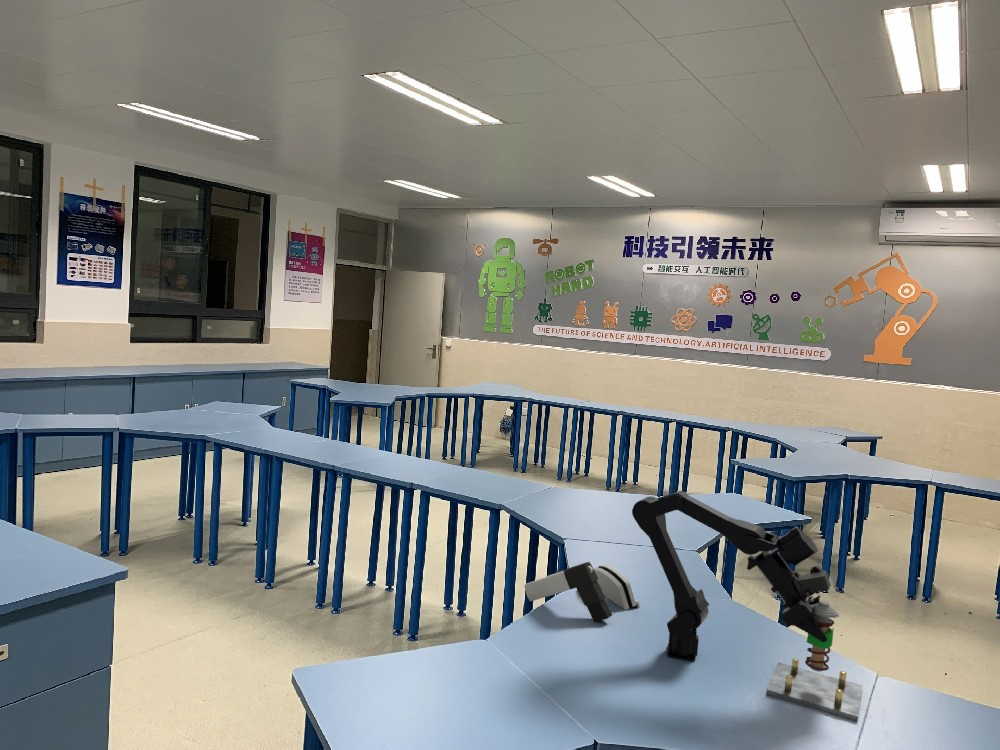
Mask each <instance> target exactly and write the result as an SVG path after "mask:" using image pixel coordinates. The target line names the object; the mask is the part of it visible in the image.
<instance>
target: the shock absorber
mask: <svg viewBox="0 0 1000 750" xmlns="http://www.w3.org/2000/svg"><path fill="white" fill-rule="evenodd" d="M811 607H812V609H813V608H816V610H815V614H816V615H815V618H816V620H817V622H818V623H819V625H820V627H821V628H822V630H823V632H824V634H825V636H826V637H827V641H826V642H822V641H820V640H818V639H817V638H815V637H813V636H812V635H810V634H808V633H807V638H806V643H807V644H809V645H811V646H812V647H808V648H807V652H809V653H811V656H806V657H805V658H806V660H804V663H805V665H806V666H807V667H808V668H810V669H811V670H813V672H814V671H815V672H817V673H818V672H823V671H828V670H829V669H830V667H829V664H827V663H829V661H830V657H829V655H828V654H829V653H830V652H831V647H832V646H833V638H834V630H835V629H834V627H833V628H831V627H832V626H834V625H835V621H834V620H833V619H834V618H838V617H840V613H839V612H838V611H837V610H836V609H834V607H832V606H831V605H830V603H829V602H827V601H825V600H820V601H819V603H817V604H815V605H811ZM832 618H833V619H832ZM825 658H826V659H825Z"/></svg>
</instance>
